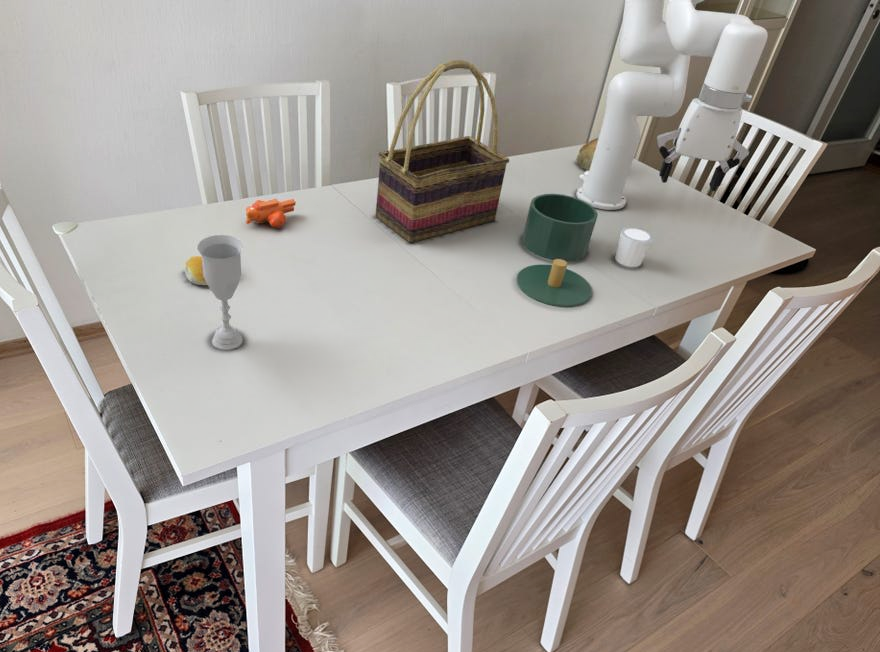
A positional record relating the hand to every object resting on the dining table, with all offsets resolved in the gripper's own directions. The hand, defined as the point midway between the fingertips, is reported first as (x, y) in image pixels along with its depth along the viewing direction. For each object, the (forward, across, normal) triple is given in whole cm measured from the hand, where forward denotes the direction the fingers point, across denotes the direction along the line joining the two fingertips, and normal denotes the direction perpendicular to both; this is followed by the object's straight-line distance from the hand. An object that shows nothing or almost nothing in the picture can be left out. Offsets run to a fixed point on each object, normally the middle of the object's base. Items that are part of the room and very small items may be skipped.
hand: (687, 184), depth 136 cm
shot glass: (+20, +6, -2) cm, 21 cm away
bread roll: (+20, +88, +34) cm, 96 cm away
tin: (+20, +22, -3) cm, 30 cm away
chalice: (+20, +77, +52) cm, 95 cm away
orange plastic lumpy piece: (+20, +84, +10) cm, 87 cm away
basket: (+20, +50, -6) cm, 54 cm away
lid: (+20, +22, +15) cm, 33 cm away
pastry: (+20, +10, -55) cm, 60 cm away
